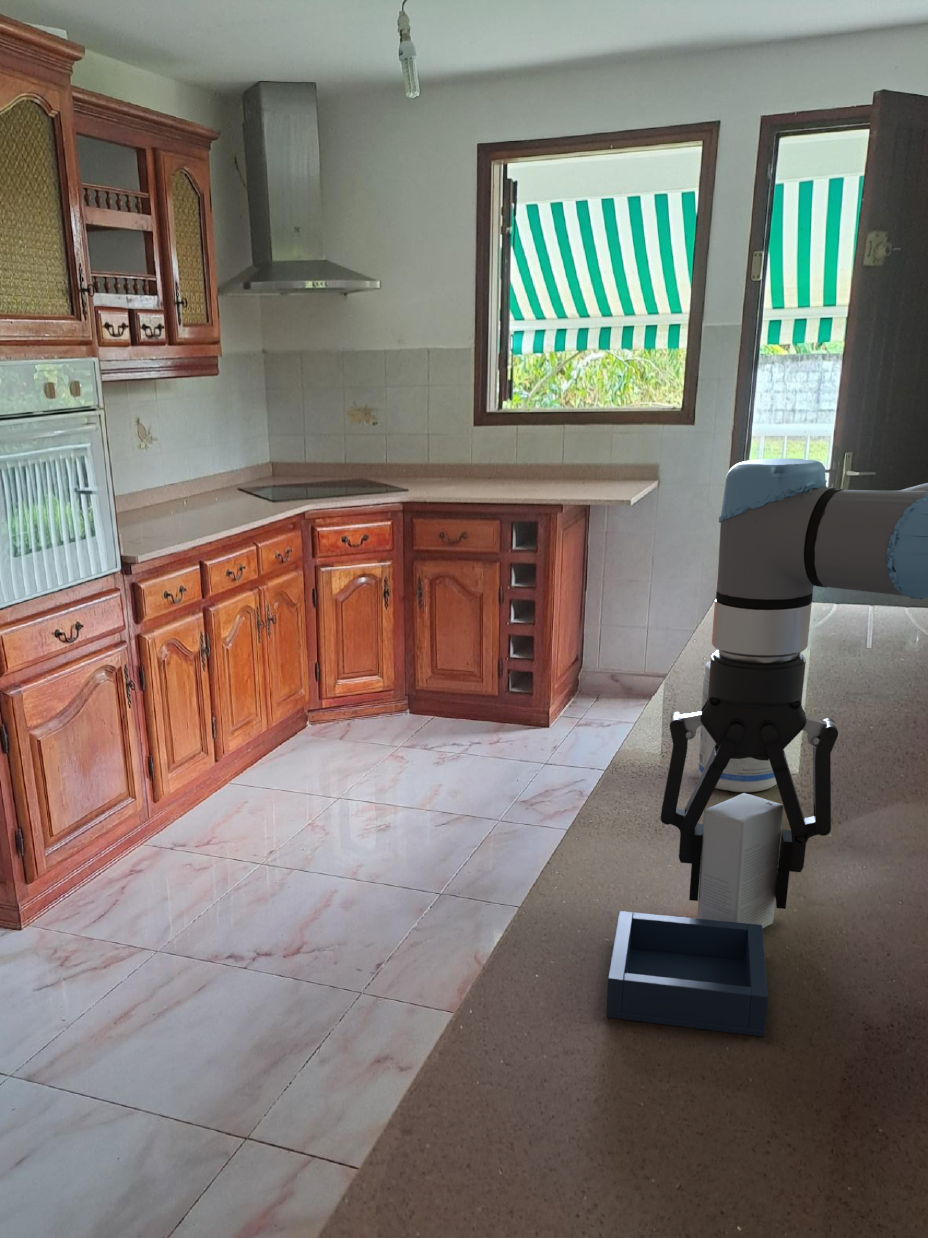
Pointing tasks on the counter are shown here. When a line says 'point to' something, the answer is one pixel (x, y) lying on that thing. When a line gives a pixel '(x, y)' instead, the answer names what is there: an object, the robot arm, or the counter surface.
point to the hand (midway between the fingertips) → (736, 897)
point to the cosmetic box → (740, 860)
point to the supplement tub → (734, 761)
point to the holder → (688, 973)
